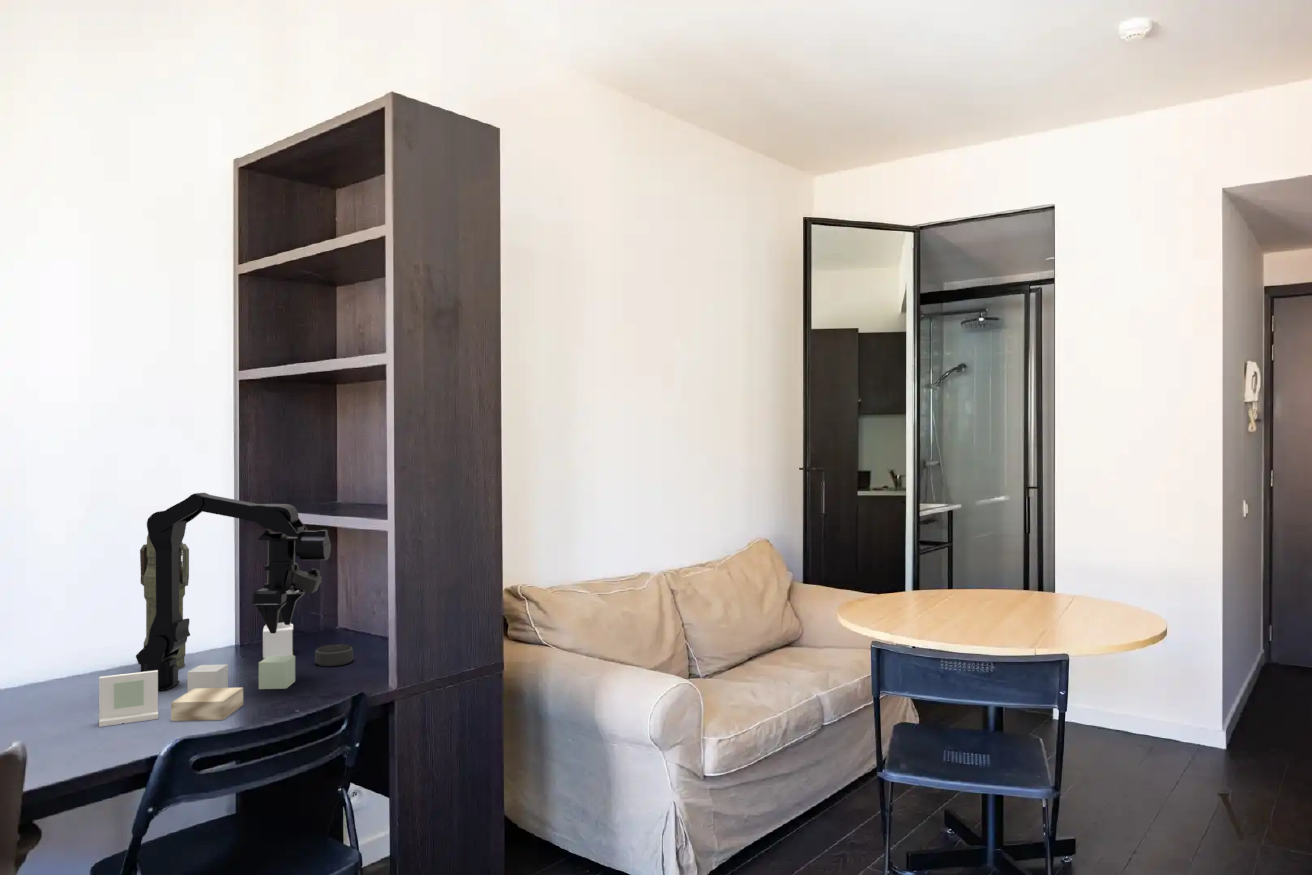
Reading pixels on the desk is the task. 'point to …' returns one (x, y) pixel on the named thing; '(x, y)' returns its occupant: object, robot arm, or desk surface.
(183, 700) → the birch block
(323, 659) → the smart speaker
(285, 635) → the medicine bottle
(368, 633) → the desk surface
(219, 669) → the grey cube
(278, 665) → the sage cube
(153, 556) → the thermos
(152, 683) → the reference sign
